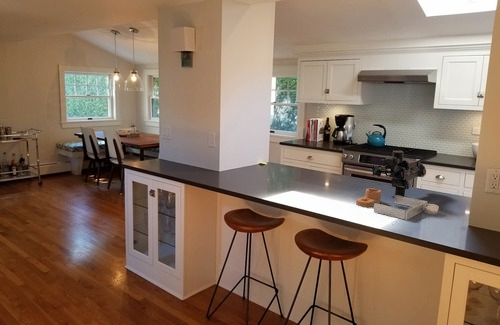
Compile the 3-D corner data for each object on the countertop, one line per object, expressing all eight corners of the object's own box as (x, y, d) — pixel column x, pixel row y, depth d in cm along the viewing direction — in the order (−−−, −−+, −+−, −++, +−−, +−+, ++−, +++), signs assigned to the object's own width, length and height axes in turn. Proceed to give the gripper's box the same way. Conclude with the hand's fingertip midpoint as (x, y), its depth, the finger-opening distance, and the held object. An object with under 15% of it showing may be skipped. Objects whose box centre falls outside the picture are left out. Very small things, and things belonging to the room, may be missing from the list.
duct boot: (395, 202, 215) (395, 194, 214) (426, 209, 203) (427, 201, 202) (373, 211, 196) (374, 203, 195) (406, 219, 184) (407, 211, 183)
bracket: (369, 199, 221) (370, 187, 220) (382, 202, 215) (383, 190, 214) (353, 204, 209) (354, 192, 208) (366, 208, 203) (367, 195, 202)
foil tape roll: (426, 210, 202) (427, 203, 201) (439, 212, 197) (440, 205, 197) (422, 212, 197) (423, 205, 196) (435, 215, 193) (436, 208, 192)
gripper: (379, 154, 221) (365, 159, 210) (411, 157, 207) (398, 162, 197) (379, 173, 223) (365, 178, 213) (410, 176, 210) (398, 182, 199)
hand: (381, 175), depth 205 cm, fingers open, 9 cm apart
